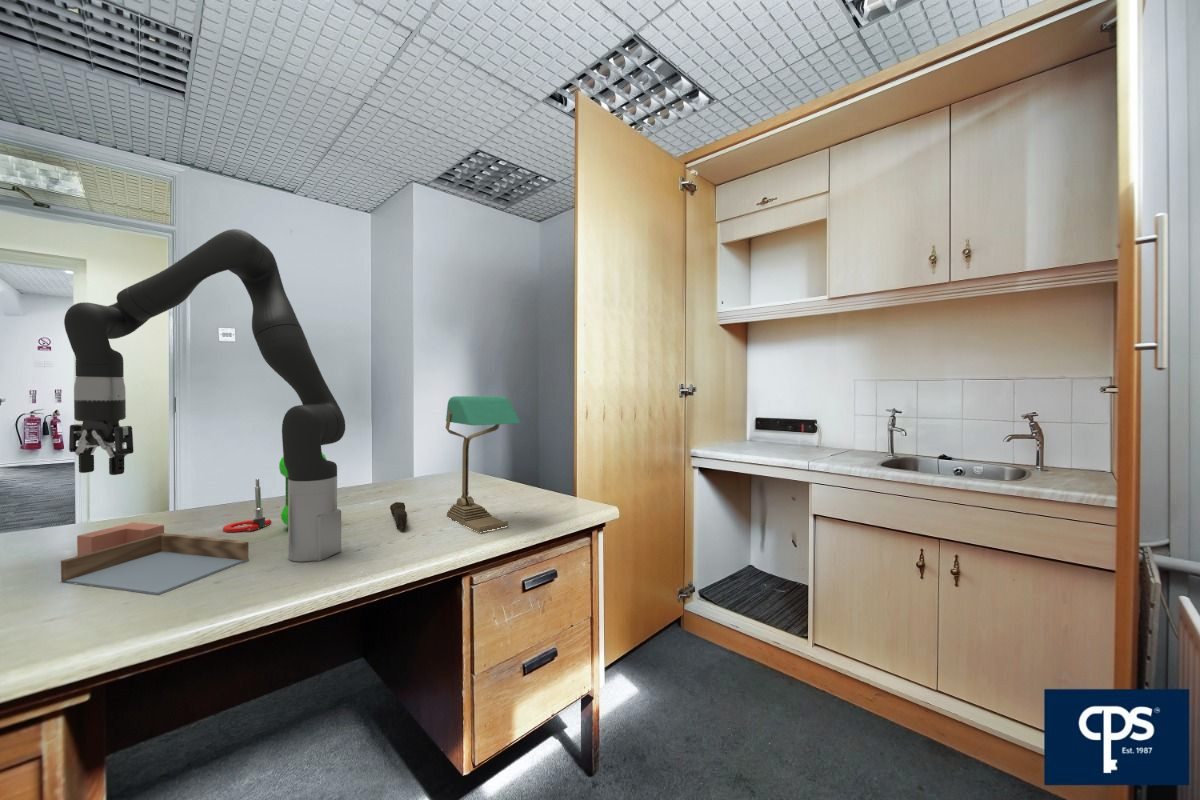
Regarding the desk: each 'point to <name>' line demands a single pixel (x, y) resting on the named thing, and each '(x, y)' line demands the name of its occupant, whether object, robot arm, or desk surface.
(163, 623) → the desk surface
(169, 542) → the walnut corner walls
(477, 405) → the banker's lamp
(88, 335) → the robot arm
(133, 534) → the bracket
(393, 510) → the dark brown rough bar
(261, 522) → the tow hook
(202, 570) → the rubber mat
